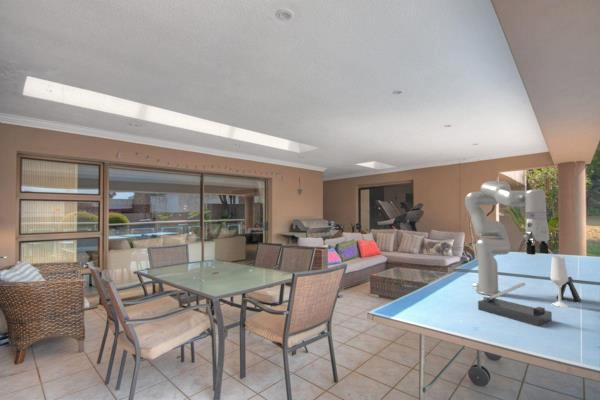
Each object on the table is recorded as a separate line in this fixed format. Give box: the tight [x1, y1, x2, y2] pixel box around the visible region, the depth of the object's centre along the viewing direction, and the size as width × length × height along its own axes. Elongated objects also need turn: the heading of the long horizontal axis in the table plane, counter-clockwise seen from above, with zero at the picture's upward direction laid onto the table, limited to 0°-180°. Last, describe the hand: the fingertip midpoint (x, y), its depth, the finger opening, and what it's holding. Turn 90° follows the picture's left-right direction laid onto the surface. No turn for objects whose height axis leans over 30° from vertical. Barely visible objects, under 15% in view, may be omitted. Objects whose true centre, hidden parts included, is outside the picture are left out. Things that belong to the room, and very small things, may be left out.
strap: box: [487, 282, 527, 300], centre depth 135 cm, size 18×4×1 cm
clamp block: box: [477, 295, 553, 328], centre depth 132 cm, size 24×12×6 cm, turn 29°
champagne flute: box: [549, 255, 569, 308], centre depth 147 cm, size 7×7×24 cm
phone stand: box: [555, 275, 582, 303], centre depth 156 cm, size 9×6×12 cm, turn 39°
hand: (537, 253), depth 133 cm, fingers open, 9 cm apart
